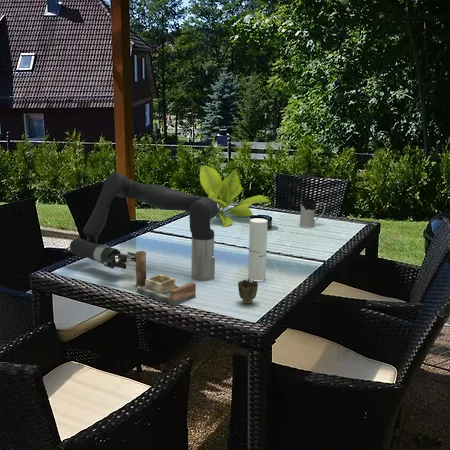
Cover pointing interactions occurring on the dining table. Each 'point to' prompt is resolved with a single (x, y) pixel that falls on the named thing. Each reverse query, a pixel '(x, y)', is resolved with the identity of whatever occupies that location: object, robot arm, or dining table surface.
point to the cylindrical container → (257, 249)
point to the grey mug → (308, 213)
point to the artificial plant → (226, 193)
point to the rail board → (172, 294)
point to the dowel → (140, 268)
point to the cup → (247, 290)
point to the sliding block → (160, 283)
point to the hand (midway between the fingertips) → (133, 263)
